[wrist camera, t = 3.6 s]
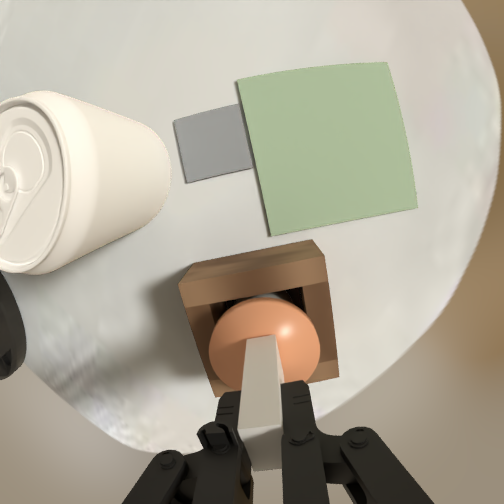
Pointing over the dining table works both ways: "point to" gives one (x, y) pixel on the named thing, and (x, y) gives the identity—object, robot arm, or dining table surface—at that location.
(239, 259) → the housing
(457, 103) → the dining table surface
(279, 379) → the robot arm
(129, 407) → the dining table surface
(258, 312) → the plunger
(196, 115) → the pad
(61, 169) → the beverage can
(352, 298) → the dining table surface
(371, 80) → the pad
